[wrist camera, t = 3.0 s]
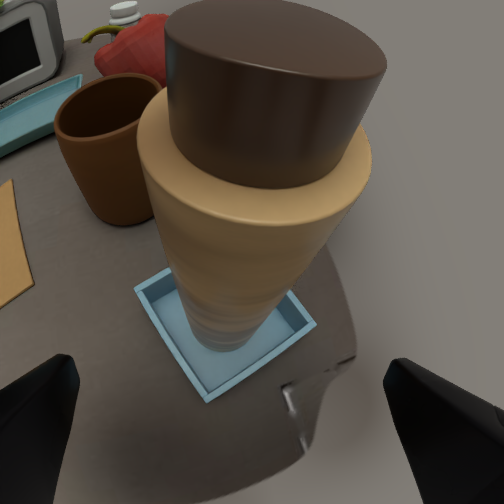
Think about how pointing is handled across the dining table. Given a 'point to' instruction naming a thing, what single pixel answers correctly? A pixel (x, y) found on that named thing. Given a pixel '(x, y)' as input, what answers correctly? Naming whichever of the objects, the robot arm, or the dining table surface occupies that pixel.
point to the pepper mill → (254, 153)
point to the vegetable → (133, 48)
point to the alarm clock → (28, 44)
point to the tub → (211, 362)
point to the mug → (108, 144)
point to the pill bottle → (124, 15)
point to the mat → (11, 249)
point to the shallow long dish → (34, 115)
